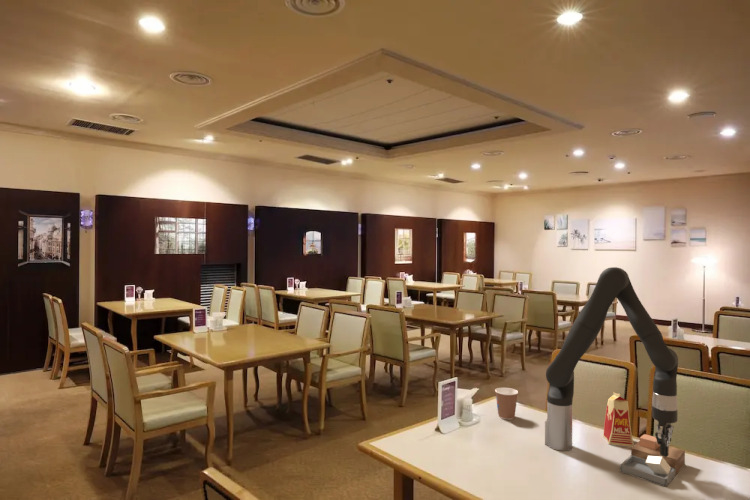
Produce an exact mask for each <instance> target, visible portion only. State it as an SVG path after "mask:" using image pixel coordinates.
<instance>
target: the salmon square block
mask: <svg viewBox="0 0 750 500" xmlns="http://www.w3.org/2000/svg"><path fill="white" fill-rule="evenodd" d="M639 441H640V446H642V447H646V448H649V449H653V450H656V449H657V448H658V447H659V444H658V442H657V439H656V436H655V435H654V436H653V435H649V434H645V433H644V434H643V435H641V436H640V437H639Z"/></svg>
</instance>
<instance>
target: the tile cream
mask: <svg viewBox="0 0 750 500" xmlns="http://www.w3.org/2000/svg"><path fill="white" fill-rule="evenodd" d="M645 463H646V464H647V465H648V466H649V468H650V469H651V470H652V471H653V472H654V473H657V474H665V475H668V474H669V472H670V469H671V467H670V466H669V465H668V463H667V462H666V461H665V460H664V458H663V457H660V456H648V457H647V460H646V462H645Z"/></svg>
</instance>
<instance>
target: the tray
mask: <svg viewBox="0 0 750 500" xmlns="http://www.w3.org/2000/svg"><path fill="white" fill-rule="evenodd" d="M645 462H646V459H643V458H639V457H636V456H633V455H631V454H630V456H628V457H627V458H626V459H625V460H624V461H623V462H622V463H621V464H620V466H619V467H620V469H619V472H620V473H623V474H626V475H629V476H632V477H634V478H638V479H641V480H644V481H648V482H649V483H653V484H656V485H659V486H662V487H668V485H669V484H670V483H671V482H672V480H673V479H674V478H675V476H677V474H676V468H673V467H671V469H670V472H669V474H668V475H665V474H657V473H654V472H653V471H652V470H651V469H650V468H649V466H648V465H647V464H646V463H645Z"/></svg>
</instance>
